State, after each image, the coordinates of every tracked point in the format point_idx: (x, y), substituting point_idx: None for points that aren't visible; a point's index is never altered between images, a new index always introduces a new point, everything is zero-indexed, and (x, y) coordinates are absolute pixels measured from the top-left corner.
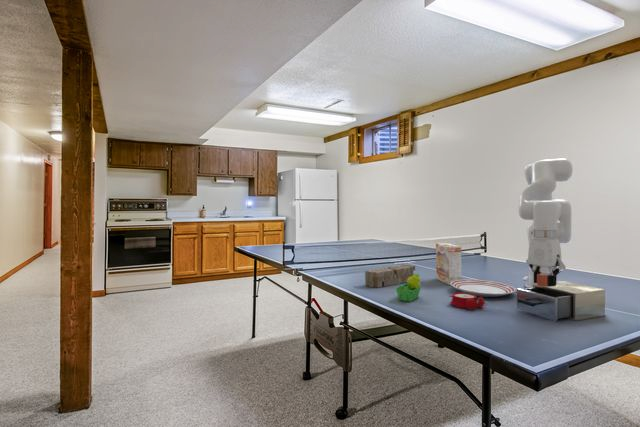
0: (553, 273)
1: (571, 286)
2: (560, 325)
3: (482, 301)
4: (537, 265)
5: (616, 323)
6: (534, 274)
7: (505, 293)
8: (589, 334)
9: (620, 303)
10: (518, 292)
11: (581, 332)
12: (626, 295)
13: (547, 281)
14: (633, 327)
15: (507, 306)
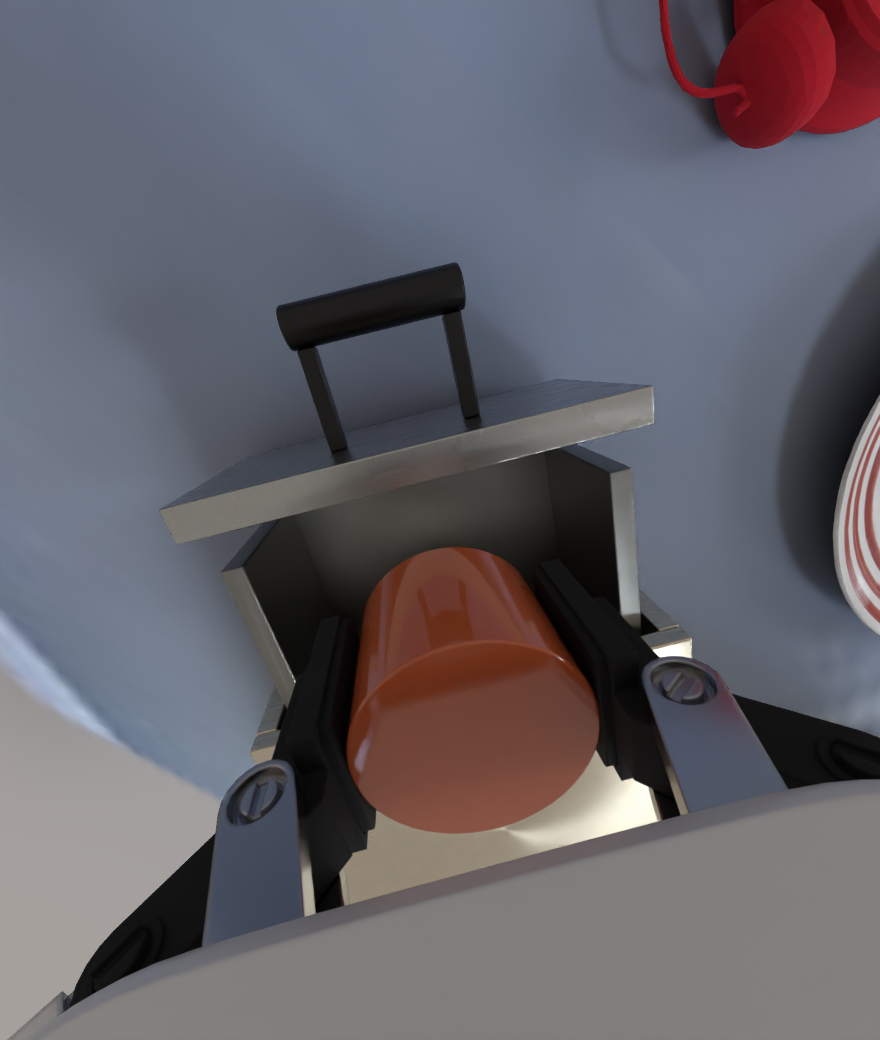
0: (225, 830)
1: (500, 852)
2: (218, 463)
3: (753, 69)
4: (594, 839)
5: None
6: (601, 630)
7: (842, 499)
8: (43, 515)
9: None
10: (607, 389)
11: (79, 495)
12: None
13: (361, 651)
14: (195, 783)
15: (668, 392)
